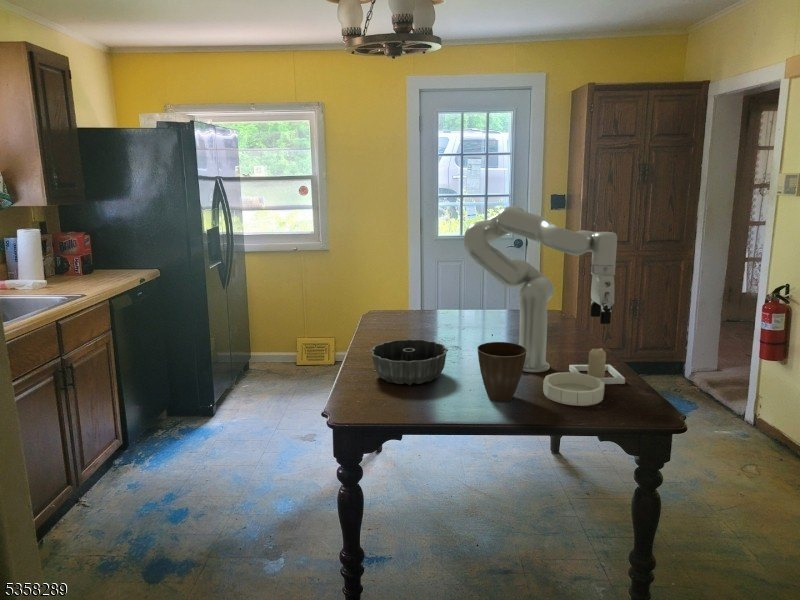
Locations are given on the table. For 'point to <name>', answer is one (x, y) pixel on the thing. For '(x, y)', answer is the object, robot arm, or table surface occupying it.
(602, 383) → the bowl
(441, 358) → the bundt pan
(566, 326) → the table surface
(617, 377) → the white square frame
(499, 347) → the plant pot
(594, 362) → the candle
